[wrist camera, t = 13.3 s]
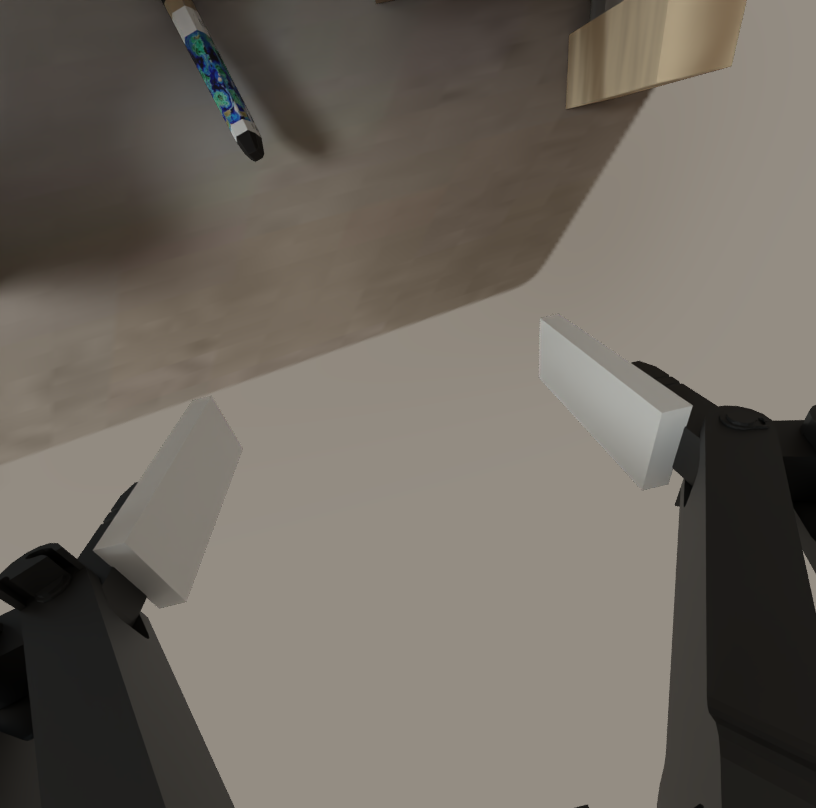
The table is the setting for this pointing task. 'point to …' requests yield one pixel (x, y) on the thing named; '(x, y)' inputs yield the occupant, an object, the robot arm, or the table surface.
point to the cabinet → (380, 0)
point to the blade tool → (649, 45)
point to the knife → (216, 76)
